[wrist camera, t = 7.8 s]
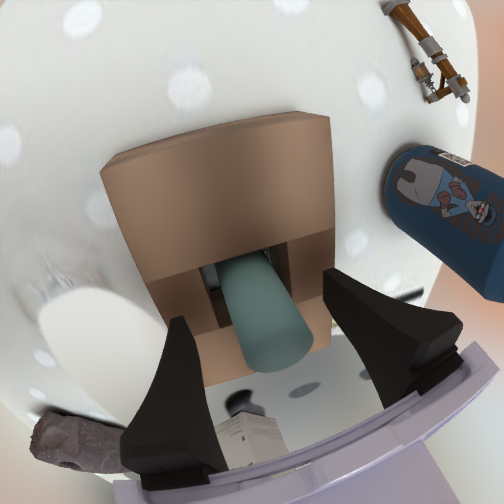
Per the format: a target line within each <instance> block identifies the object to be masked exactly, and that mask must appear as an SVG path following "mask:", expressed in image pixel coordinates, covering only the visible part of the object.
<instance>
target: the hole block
mask: <svg viewBox="0 0 504 504" xmlns="http://www.w3.org/2000/svg"><path fill="white" fill-rule="evenodd" d="M100 175H101V178H102V181H103V184H104V187H105V190H106V192H107V195H108V198H109V201H110V203H111V206H112V209H113V211H114V214H115V216H116V219H117V221H118V224H119V226H120V229H121V231H122V234H123V236H124V238H125V241H126V243H127V245H128V248H129V250H130V252H131V255H132V257H133V259H134V261H135V263H136V266H137V268H138V270H139V272H140V274H141V276H142V279H143V281H144V283H145V285H146V287H147V289H148V291H149V293H150V295H151V297H152V299H153V301H154V303H155V305H156V307H157V309H158V311H159V313H160V314H161V316H162V318H163V320H164V322H165V324H166V326H167V328H169V322H170V320H171V318H175V317H178V316H182V315H183V316H184V318H185V321H186V323H187V325H188V327H189V329H190V331H191V333H192V335H193V337H194V339H195V341H196V345H197V349H198V353H199V357H200V362H201V369H202V376H203V382H204V387H207V386H211V385H215V384H219V383H222V382H226V381H229V380H233V379H236V378H240V377H243V376H246V375H249V374H252V373H255V372H256V371H254V370H252V369H250V368H249V367H248V366H247V364H246V362H245V359H244V356H243V353H242V350H241V347H240V344H239V341H238V338H237V335H236V332H235V329H234V326H233V323H232V320H231V317H230V314H229V311H228V308H227V304H226V301H225V298H224V295H223V292H222V289H221V288H220V289H217V290H214V291H210V290H209V287H208V284H207V281H206V278H205V275H204V272H203V269H202V266H206V265H209V264H212V263H216V262H219V261H223V260H226V259H229V258H233V257H236V256H239V255H243V254H246V253H250V252H253V251H256V250H260V249H263V248H267V247H270V252H271V259H272V265H273V269H274V270H275V272H276V274H277V275H278V277H279V278H280V280H281V282H282V283H283V285H284V287H285V288H286V290H287V292H288V293H289V295H290V297H291V298H292V300H293V302H294V303H295V305H296V307H297V308H298V310H299V312H300V313H301V315H302V317H303V318H304V320H305V322H306V323H307V325H308V327H309V329H310V330H311V332H312V334H313V337H314V341H313V345H312V347H311V349H310V350H309V352H308V353H307V354H309V353H312V352H314V351H317V350H319V349H322V348H324V347H326V346H329V345H330V340H331V328H332V316H331V314H330V312H329V311H328V309H327V307H326V305H325V303H324V301H323V271H324V270H327V269H330V268H333V267H334V266H335V202H334V174H333V155H332V141H331V128H330V117H327V116H322V115H317V114H311V113H306V112H300V111H294V112H286V113H279V114H273V115H266V116H260V117H255V118H249V119H244V120H239V121H234V122H229V123H224V124H220V125H215V126H211V127H207V128H203V129H199V130H195V131H191V132H187V133H183V134H179V135H176V136H172V137H169V138H165V139H162V140H159V141H155V142H152V143H149V144H146V145H143V146H140V147H137V148H134V149H131V150H128V151H125V152H122V153H120V154H117V155H114V157H113V158H112V159H111V160H110V161H109V162H108V163H107V164H106V165H105V166H104V168H103V169H102V170H101V171H100ZM307 354H306V355H307Z"/></svg>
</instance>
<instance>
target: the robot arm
mask: <svg viewBox="0 0 504 504" xmlns="http://www.w3.org/2000/svg"><path fill="white" fill-rule="evenodd" d="M323 301H324V303H325V305H326V307H327V309H328V311H329V312H330V314H331V316H332V317H333V319H334V320H335V321H336V323H337V324H338V326H339V327H340V328H341V330H342V331H343V332H344V334H345V335H346V336H347V338H348V339H349V341H350V342H351V343H352V345H353V346H354V348H355V349H356V351H357V352H358V354H359V356H360V358H361V359H362V362H363V363H364V365H365V367H366V369H367V371H368V373H369V375H370V377H371V379H372V381H373V383H374V386H375V388H376V390H377V392H378V395H379V397H380V400H381V402H382V405H383V407H384V410H383V411H381V412H380V413H378V414H376V415H374V416H372V417H370V418H369V419H367V420H365V421H363V422H361V423H359V424H357V425H355V426H353V427H351V428H349V429H347V430H344V431H343V432H340V433H338V434H336V435H334V436H331V437H329V438H327V439H325V440H322V441H320V442H317V443H315V444H312V445H310V446H308V447H305V448H302V449H299V450H297V451H294V452H291V453H288V454H285V455H283V456H280V457H277V458H273V459H270V460H267V461H264V462H260V463H257V464H253V465H250V466H246V467H242V468H238V469H234V470H229V468H228V465H227V463H226V460H225V458H224V455H223V452H222V450H221V447H220V444H219V441H218V438H217V435H216V432H215V429H214V426H213V423H212V419H211V416H210V412H209V409H208V405H207V401H206V396H205V389H204V382H203V376H202V369H201V362H200V357H199V353H198V349H197V345H196V341H195V339H194V337H193V335H192V333H191V331H190V329H189V327H188V325H187V323H186V321H185V318H184V316H183V315H182V316H178V317H175V318H171V320H170V322H169V328H168V333H167V337H166V342H165V345H164V349H163V353H162V356H161V359H160V362H159V365H158V369H157V371H156V374H155V377H154V379H153V382H152V384H151V386H150V389H149V391H148V393H147V395H146V397H145V399H144V401H143V403H142V405H141V406H140V409H139V410H138V411H137V413H136V415H135V416H134V418H133V420H132V421H131V423H130V424H129V425H128V427H127V428H126V430H125V431H124V432H123V434H122V435H121V436H120V461H121V464H122V466H123V467H125V468H127V469H129V470H131V471H133V472H135V473H137V474H140V478H141V480H114V481H113V485H114V494H115V501H116V504H460V502H459V500H458V499H457V497H456V495H455V494H454V492H453V490H452V488H451V487H450V485H449V483H448V482H447V480H446V478H445V477H444V475H443V474H442V472H441V470H440V469H439V467H438V465H437V464H436V462H435V460H434V459H433V457H432V455H431V454H430V452H429V451H428V449H427V448H426V446H425V444H424V443H423V441H425V440H426V439H427V438H429V437H430V436H431V435H433V434H434V433H435V432H437V431H438V430H439V429H440V428H442V427H443V426H444V425H445V424H447V423H448V422H449V421H450V420H452V419H453V418H454V417H455V416H456V415H457V414H459V413H460V412H461V411H462V410H463V409H464V408H465V407H466V406H467V405H469V404H470V403H471V402H472V401H473V400H474V399H475V398H476V397H477V396H478V395H479V394H480V393H481V392H482V391H483V390H484V389H485V388H486V386H488V384H489V383H490V382H491V381H492V380H493V379H494V377H495V376H496V375H497V374H498V373H499V371H500V369H499V368H498V367H497V365H496V364H495V363H494V362H493V361H492V360H491V358H490V357H489V356H488V355H487V354H486V352H485V351H484V350H483V349H482V348H481V347H480V346H479V345H478V343H477V342H476V341H474V342H473V343H471V344H470V345H469V346H468V347H467V348H466V349H464V350H463V351H462V352H461V354H460V355H459V354H458V353H457V352H456V351H457V350H458V348H457V346H456V345H455V342H456V341H457V339H458V337H459V335H460V333H461V331H462V329H463V323H462V322H461V321H460V319H459V318H457V316H456V315H455V314H454V313H452V312H445V311H437V310H432V309H427V308H422V307H418V306H415V305H411V304H408V303H405V302H402V301H399V300H396V299H394V298H391V297H389V296H386V295H384V294H382V293H380V292H378V291H376V290H373V289H372V288H370V287H368V286H366V285H364V284H362V283H360V282H358V281H357V280H355V279H353V278H351V277H350V276H348V275H346V274H344V273H343V272H341V271H339V270H337V269H336V268H334V267H333V268H330V269H327V270H324V271H323ZM317 459H318V460H317ZM315 460H316V461H315ZM312 461H314V462H313V463H311V464H310V465H308V466H305V467H303V468H301V469H298V470H296V471H293V472H291V473H288V474H286V475H283V476H281V477H278V478H275V479H274V478H273V477H269V476H272V475H276V474H279V473H282V472H285V471H288V470H291V469H294V468H296V467H299V466H302V465H304V464H307V463H309V462H312Z"/></svg>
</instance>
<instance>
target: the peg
mask: <svg viewBox="0 0 504 504" xmlns="http://www.w3.org/2000/svg"><path fill="white" fill-rule="evenodd" d="M214 266H215V269H216V272H217V276H218V279H219V282H220V285H221V289H222V292H223V295H224V298H225V301H226V304H227V308H228V311H229V314H230V317H231V320H232V323H233V326H234V329H235V332H236V335H237V338H238V341H239V344H240V347H241V350H242V353H243V356H244V359H245V362H246V364H247V366H248V367H249V368H250V369H252V370H254V371H256V372H262V373H269V372H275V371H279V370H283V369H286V368H288V367H290V366H292V365H294V364H295V363H297V362H298V361H300V360H301V359H302V358H303V357H304V356H305V355H306V354H307V353H308V352H309V350H310V349H311V347H312V345H313V341H314V337H313V334H312V332H311V330H310V329H309V327H308V325H307V323H306V322H305V320H304V318H303V317H302V315H301V313H300V312H299V310H298V308H297V307H296V305H295V303H294V302H293V300H292V298H291V297H290V295H289V293H288V292H287V290H286V288H285V287H284V285H283V283H282V282H281V280H280V278H279V277H278V275H277V274H276V272H275V270H274V269H273V267H272V265H271V264H270V262H269V260H268V259H267V257H266V255H265V254H264V252H263V250H262V249H260V250H256V251H253V252H250V253H246V254H243V255H239V256H236V257H233V258H229V259H226V260H223V261H219V262H216V263H214Z"/></svg>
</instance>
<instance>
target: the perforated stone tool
mask: <svg viewBox="0 0 504 504" xmlns="http://www.w3.org/2000/svg"><path fill="white" fill-rule="evenodd" d="M124 431H125V430H123V429H120V428H116V427H108V426H105V425H104V424H103V423H99V422H96V421H92V420H88V419H85V418H82V417H78V416H61V415H60V414H59V413H57V412H53V411H48V412H47V413H46V414H45V415H44V416H42V417H41V418H40V419H39V421H38V422H37V424H36V425H35V426H34V430H33V435H32V436H31V438H32V441H31V445H30V448H29V449H30V452H31V453H32V454H33V456H34V457H35V458H36V459H38V460H41V461H44V462H47V463H51V464H54V465H57V466H59V467H64V468H71V469H73V470H77V471H82V472H91V473H102V474H114V473H125V472H131V470H129V469H127V468H125V467H123V466H122V464H121V461H120V436H121V435H122V434H123V432H124Z"/></svg>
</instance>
